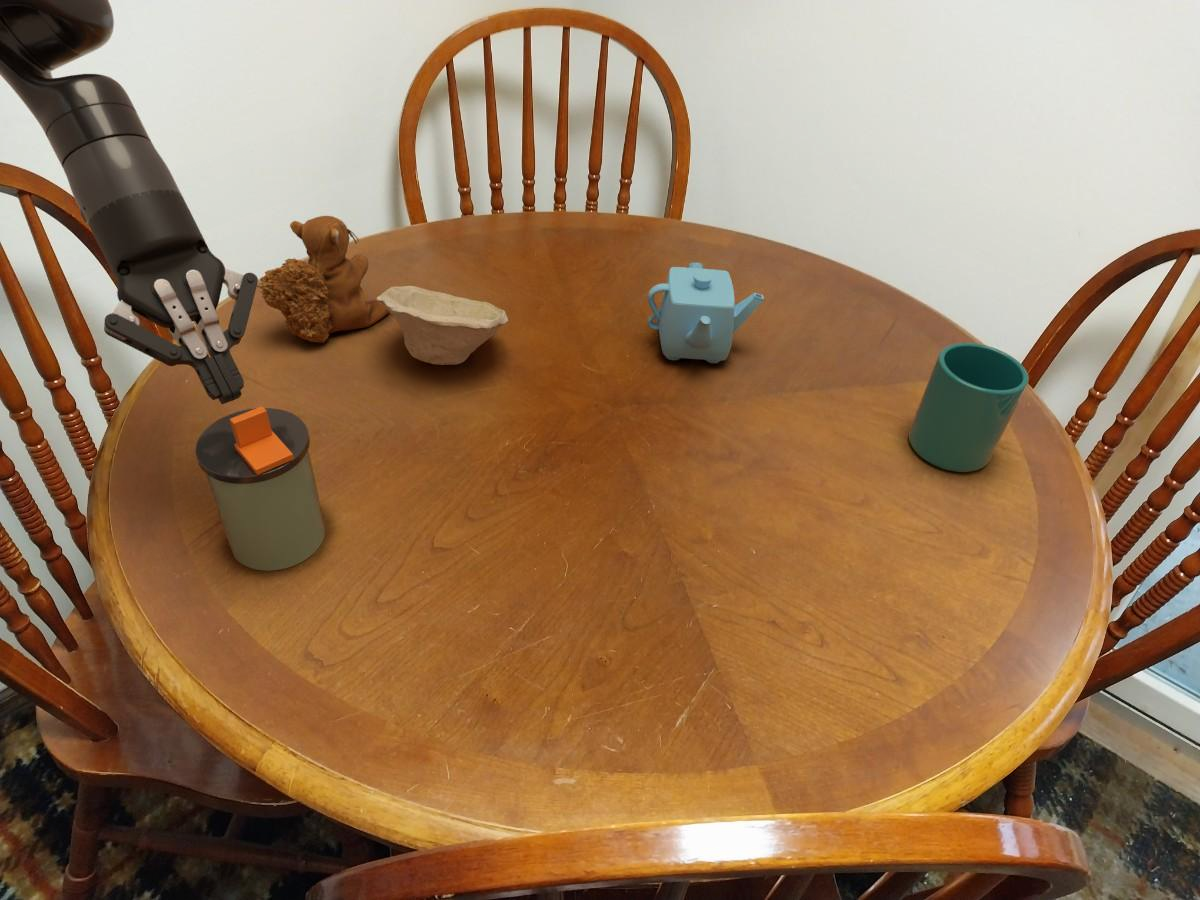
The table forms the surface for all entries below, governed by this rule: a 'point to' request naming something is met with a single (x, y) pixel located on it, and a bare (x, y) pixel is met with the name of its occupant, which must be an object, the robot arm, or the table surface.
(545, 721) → the table surface
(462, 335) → the bowl
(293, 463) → the lidded canister
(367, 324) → the stuffed squirrel
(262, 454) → the slider
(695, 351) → the teapot
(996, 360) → the cup
